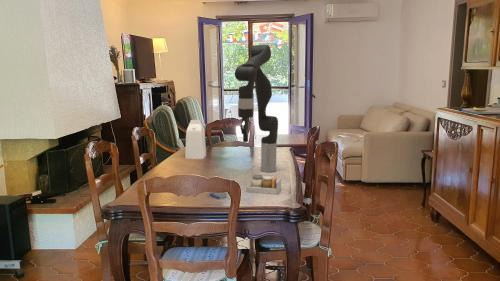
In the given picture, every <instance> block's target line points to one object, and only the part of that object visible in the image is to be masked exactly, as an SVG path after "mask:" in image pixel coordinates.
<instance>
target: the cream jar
mask: <svg viewBox="0 0 500 281" xmlns="http://www.w3.org/2000/svg"><path fill="white" fill-rule="evenodd" d="M262 176H263V175H262V174H254V175H252V177H251V178H252V181H253V187H259V188H262V180H263V179H262Z"/></svg>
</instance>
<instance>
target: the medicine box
mask: <svg viewBox="0 0 500 281" xmlns="http://www.w3.org/2000/svg"><path fill="white" fill-rule="evenodd" d="M209 196H211V197H214V198H216V199H219V200H221V199H225V198H226V197H227V193H210V192H209Z"/></svg>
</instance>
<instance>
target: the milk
mask: <svg viewBox="0 0 500 281" xmlns="http://www.w3.org/2000/svg"><path fill="white" fill-rule="evenodd" d="M205 132H206V131H205V128H204V126H203V124H202V122H201V120H200V119H191V120H190V122H189V124H188V126H187V128H186V132H185V155H184V156H185V159H187V160H188V159H190V160H191V159H193V160H204V159H205V157H207V150H206V148H207V146H206V133H205Z"/></svg>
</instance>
